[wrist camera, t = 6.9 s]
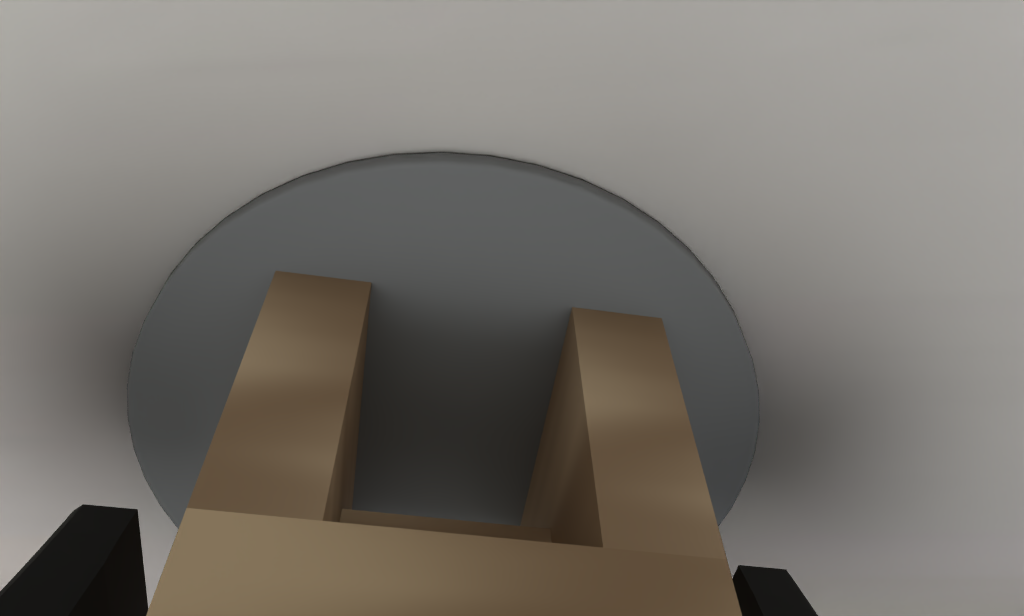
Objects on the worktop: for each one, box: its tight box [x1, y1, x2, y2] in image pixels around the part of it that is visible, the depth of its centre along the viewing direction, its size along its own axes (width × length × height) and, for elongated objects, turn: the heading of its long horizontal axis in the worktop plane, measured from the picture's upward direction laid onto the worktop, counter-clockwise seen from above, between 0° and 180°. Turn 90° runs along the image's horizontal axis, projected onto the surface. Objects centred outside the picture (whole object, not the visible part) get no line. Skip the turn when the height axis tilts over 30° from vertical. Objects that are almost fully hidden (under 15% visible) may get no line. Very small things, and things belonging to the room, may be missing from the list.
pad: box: [127, 153, 759, 529], centre depth 13 cm, size 9×9×1 cm
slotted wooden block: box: [146, 271, 742, 616], centre depth 11 cm, size 5×5×6 cm
